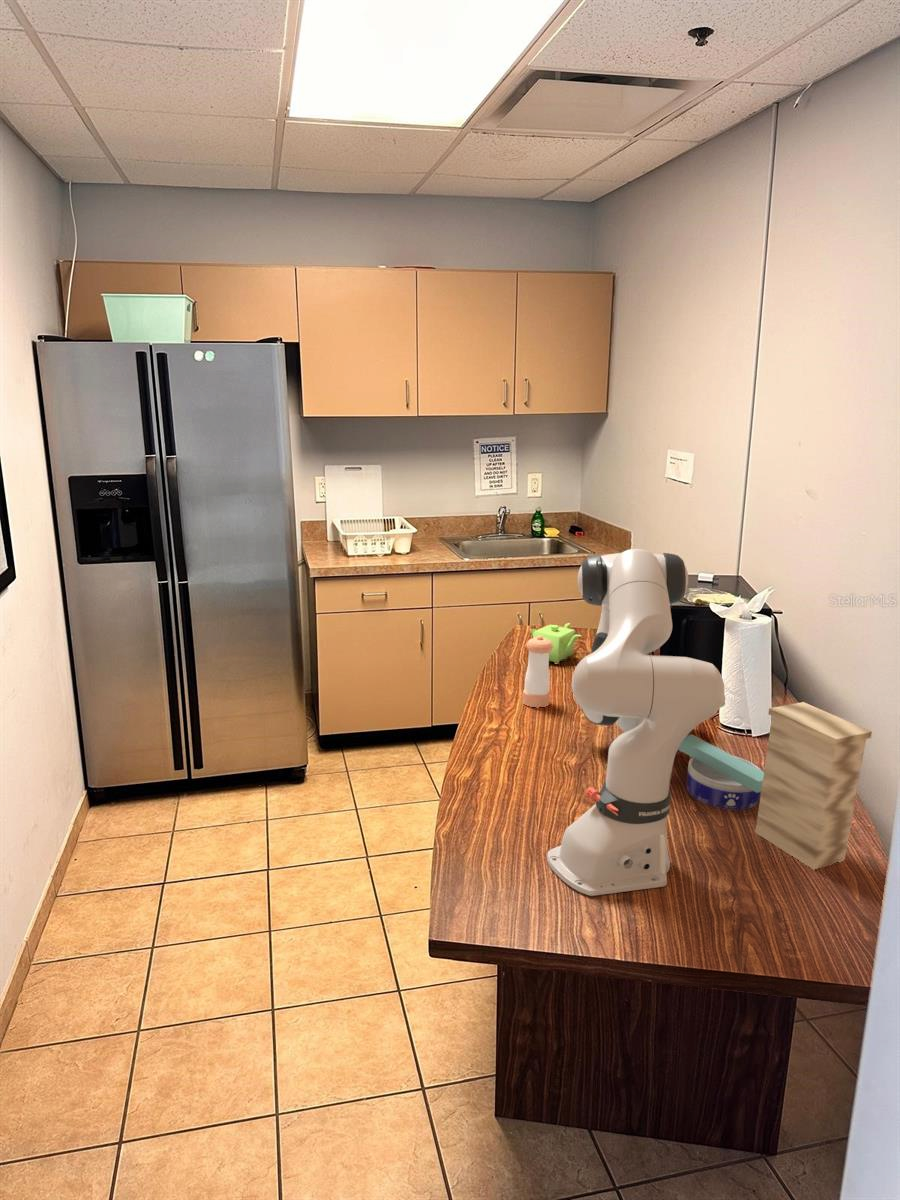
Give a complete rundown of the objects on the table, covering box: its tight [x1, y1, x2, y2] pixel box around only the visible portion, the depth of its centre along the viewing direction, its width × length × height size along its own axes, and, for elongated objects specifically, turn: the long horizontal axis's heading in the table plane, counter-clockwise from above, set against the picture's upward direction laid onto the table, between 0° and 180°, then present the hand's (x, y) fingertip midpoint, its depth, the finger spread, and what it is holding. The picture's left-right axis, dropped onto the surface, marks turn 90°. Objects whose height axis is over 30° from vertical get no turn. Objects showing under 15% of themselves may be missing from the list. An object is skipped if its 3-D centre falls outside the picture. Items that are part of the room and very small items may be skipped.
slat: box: [677, 734, 764, 793], centre depth 175 cm, size 4×23×2 cm, turn 28°
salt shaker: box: [522, 636, 553, 708], centre depth 220 cm, size 7×7×19 cm
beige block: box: [754, 701, 873, 871], centre depth 153 cm, size 9×15×26 cm, turn 26°
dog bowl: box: [686, 755, 761, 811], centre depth 175 cm, size 15×15×6 cm
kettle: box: [529, 622, 583, 664], centre depth 258 cm, size 15×14×11 cm
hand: (706, 699), depth 178 cm, fingers open, 8 cm apart
